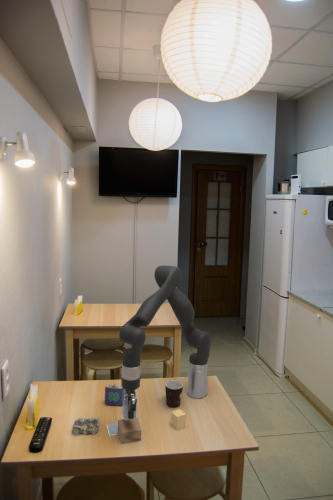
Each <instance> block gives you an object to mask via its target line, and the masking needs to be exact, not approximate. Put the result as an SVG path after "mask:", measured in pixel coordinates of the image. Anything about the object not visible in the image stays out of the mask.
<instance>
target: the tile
mask: <svg viewBox="0 0 333 500" xmlns="http://www.w3.org/2000/svg"><path fill="white" fill-rule="evenodd" d="M106 428H107V433H108V436H115V435H119V434H118V422H116V423H109V424H106Z"/></svg>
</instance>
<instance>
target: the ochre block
mask: <svg viewBox="0 0 333 500" xmlns="http://www.w3.org/2000/svg"><path fill="white" fill-rule="evenodd" d="M170 414H171V417H170V425H171V426H172V427H173V428H174V429H175V430H176V431H178V430H181V429H185V428H186V418H187V414H186V412H185V411H183V410H182V409H180V408H179V409H176V410H173V411H171V413H170Z"/></svg>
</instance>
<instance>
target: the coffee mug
mask: <svg viewBox="0 0 333 500" xmlns="http://www.w3.org/2000/svg"><path fill="white" fill-rule="evenodd" d="M183 389H184V384H183V382H182V381H179V380H173V379H172V380H166V382H165V383H164V390H165V402H166V406H167V407H168V408H171V409H175V408H176V409H177V408H179V407H180V406H181V400H182V393H183Z"/></svg>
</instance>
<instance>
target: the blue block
mask: <svg viewBox="0 0 333 500" xmlns="http://www.w3.org/2000/svg"><path fill="white" fill-rule="evenodd" d="M129 402H130V401H129ZM136 407H138V405H137V404H136ZM122 416H123V419H125V420H131V419H128V404H127V400H125V399H124V400H123V406H122ZM136 417H137V410H136V411H134V418H133V419H136Z"/></svg>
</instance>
